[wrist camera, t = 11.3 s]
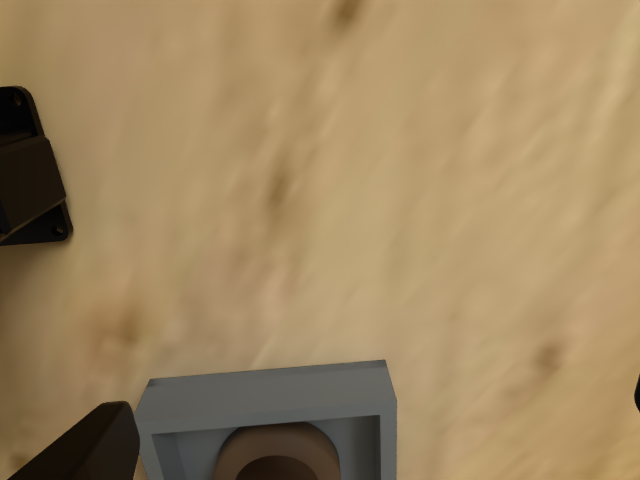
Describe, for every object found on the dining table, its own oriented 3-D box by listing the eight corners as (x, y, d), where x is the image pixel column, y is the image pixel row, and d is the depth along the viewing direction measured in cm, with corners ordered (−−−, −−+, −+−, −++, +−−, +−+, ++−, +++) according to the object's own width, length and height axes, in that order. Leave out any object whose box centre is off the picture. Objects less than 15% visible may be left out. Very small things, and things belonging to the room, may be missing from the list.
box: (192, 533, 28) (181, 585, 25) (150, 379, 23) (129, 422, 20) (386, 516, 28) (395, 566, 26) (385, 359, 23) (396, 400, 21)
